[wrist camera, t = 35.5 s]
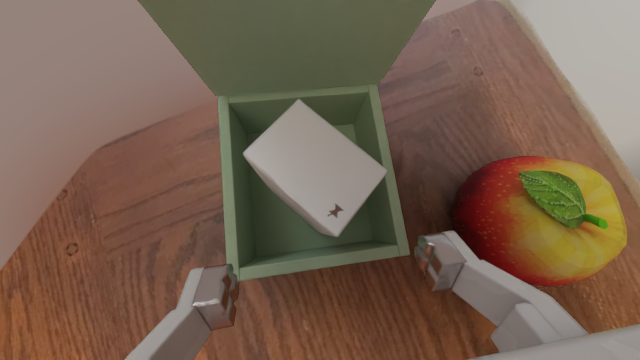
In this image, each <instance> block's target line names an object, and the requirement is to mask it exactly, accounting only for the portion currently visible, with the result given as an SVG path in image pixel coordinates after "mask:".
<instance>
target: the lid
mask: <svg viewBox="0 0 640 360" xmlns="http://www.w3.org/2000/svg"><path fill="white" fill-rule="evenodd" d="M138 1H139V2H140V4H142V6H143V7H144V8H145V10H146V11H147V12H148V13H149V15H150V16H151V17H152V18H153V20H154V21H155V22H156V23H157V24H158V26H159V27H160V28H161V29H162V31H163V32H164V33H165V34H166V35H167V37H168V38H169V39H170V40H171V42H172V43H173V44H174V45H175V47H176V48H177V49H178V50H179V52H180V53H181V54H182V55H183V57H184V58H185V59H186V60H187V61H188V63H189V64H190V65H191V66H192V68H193V69H194V70H195V71H196V72H197V74H198V75H199V76H200V77H201V79H202V80H203V81H204V82H205V83H206V85H207V86H208V87H209V88H210V90H211V91H212V92H213V93H214V95H215V96H222V95H235V94H248V93H261V92H274V91H287V90H300V89H313V88H326V87H339V86H352V85H365V84H378V83H380V81H381V80H382V78H383V77H384V76H385V74H386V73H387V71H388V70H389V68H390V67H391V65H392V64H393V62H394V61H395V59H396V58H397V57H398V55H399V54H400V52H401V51H402V49H403V48H404V46H405V45H406V43H407V42H408V40H409V39H410V38H411V36H412V35H413V33H414V32H415V30H416V29H417V27H418V26H419V24H420V23H421V21H422V20H423V19H424V17H425V16H426V14H427V13H428V11H429V10H430V8H431V7H432V5H433V4H434V2H435V1H436V0H138Z"/></svg>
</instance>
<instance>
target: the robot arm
mask: <svg viewBox="0 0 640 360" xmlns="http://www.w3.org/2000/svg"><path fill="white" fill-rule="evenodd" d="M417 242H418V245H417V246H416V247H415V250H414V258H415V261H416V264H417V266H418V267H419V269H420V270H422V271H423V272H425V276H424V278H425V280H426V281H427V283H428V285H429V286H430V288H431V290H432V292H434V291H441V290H448V289H452V291H453V292H454V293H456V294H457V295H458V296H459V297H461V298H462V299H463V300H464V301H466V302H467V303H468V304H469V305H471V306H472V307H473V308H475V309H476V310H477V311H478V312H480V313H481V314H482V315H483V316H485V317H486V318H487V319H488V320H490V321H491V322H492V323H493V324H495V325H496V326H497V328H496V329H495V330H494V331H493V333H492V334H491V340H492V341H493V343H494V344H495V346H496V347H497V349H498V350H499V352H500V353H495V354H491V355H486V356H481V357H476V358H471V359H466V360H640V324H636V325H631V326H626V327H621V328H616V329H612V330H607V331H602V332H597V333H592V334H589V333H588V332H587V331H586V330H585V329H584V328H583V327H582V326H581V325H579V324H578V323H577V322H576V321H575V320H574V319H573V318H572V317H571V316H570V315H569V314H568V313H567V312H566V311H565V310H564V309H563V308H562V307H561V306H560V305H559V304H558V303H557V302H556V301H555V300H554V299H553V298H552V297H551V296H549V295H548V294H546V293H544V292H542V291H540V290H538V289H536V288H535V287H533V286H531V285H529V284H527V283H525V282H523V281H522V280H520V279H518V278H516V277H514V276H512V275H510V274H509V273H507V272H505V271H503V270H501V269H499V268H497V267H496V266H494V265H492V264H490V263H488V262H486V261H484V260H479V259H478V258H477V256H476V255H475V254H474V253H473V252H472V251H471V249H470V248H469V247H468V246H467V245H466V244H465V242H464V241H463V240H462V239H461V238H460V237H459V236H458V234H457V233H456V232H454V231H453V230H452V231H445V232H437V233H431V234H425V235H420V236H419V237H418V239H417ZM233 271H234V267H233V265H232V264H224V265H216V266H208V267H200V268H193V269H192V270H191V271H190V272H189V274H188V277H187V280H186V283H185V285H184V288H183V291H182V293H181V296H180V299H179V302H178V304H177V307H176V310H171V311H170V312H169V314H168V315H167V316H166V317H165V318H164V319H163V320H162V321H161V322H160V323H159V324H158V325H157V326H156V327H155V328H154V329H153V330H152V331H151V332H150V333H149V334H148V335H147V336H146V337H145V339H144V340H143V341H142V342H141V343H140V344H139V345H138V346H137V347H136V348H135V349H134V350H133V351H132V352H131V353H130V354H129V355H128V356H127V357H126V358H125V359H124V360H194V358H195V357H196V355H197V354H198V352H199V351H200V349H201V348H202V346H203V345H204V343H205V342H206V340H207V338H208V337H209V335H210V334H211V332H212V330H217V329H222V328H227V327H232V326H234V322H235V315H236V307H235V305H234V303H235V301H236V300H237V299H238V295H239V281H238V277H237V275H236V274H234V273H233Z"/></svg>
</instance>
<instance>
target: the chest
mask: <svg viewBox="0 0 640 360" xmlns="http://www.w3.org/2000/svg"><path fill="white" fill-rule="evenodd" d="M298 99H300V100H301V101H302V102H303V103H304V104H306V105H307V106H308V107H309V108H311V109H312V110H313V111H314V112H316V113H317V114H318V115H319V116H320V117H322V118H323V119H324V120H325V121H327V122H328V123H329V124H330V125H332V126H333V127H334V128H336V129H337V130H338V131H339V132H341V133H342V134H343V135H344V136H346V137H347V138H348V139H350V140H351V141H352V142H353V143H355V144H356V145H357V146H358V147H359V148H361V149H362V150H363V151H364V152H366V153H367V154H368V155H369V156H371V157H372V158H373V159H374V160H376V161H377V162H378V163H379V164H380V165H382V166H383V167H384V168H385V169H386V170H387V174H386V175H385V176H384V178H383V179H382V180H381V182H380V183H379V184H378V185H377V187H376V188H375V189H374V191H373V192H372V193H371V194H370V196H369V197H368V198H367V200H366V201H365V202H364V204H363V205H362V206H361V207H360V209H359V210H358V211H357V213H356V214H355V215H354V217H353V218H352V219H351V220H350V222H349V223H348V224H347V226H346V227H345V228H344V230H343V231H342V232H341V234H340V235H339V236H338V237H334V236H329V235H325V234H320V233H318V232H317V231H316V230H314V229H313V228H312V227H311V226H310V225H309V224H307V223H306V222H305V221H304V220H303V219H302V218H300V217H299V216H298V215H297V214H296V213H295V212H294V211H292V210H291V209H290V208H289V207H288V206H287V205H286V204H284V203H283V202H282V201H281V200H280V199H279V198H278V197H277V196H276V195H275V194H274V193H273V192H272V191H271V190H270V188H269V187H268V186H267V185H266V183H265V182H264V181H263V180H262V179H261V177H260V176H259V175H258V174H257V172H256V171H255V170H254V169H253V167H252V166H251V165H250V163H249V162H248V161H247V160H246V159H245V157H244V156H243V152H244V151H245V150H246V149H247V148H248V147H249V146H250V145H251V144H252V143H253V142H254V141H255V140H256V139H257V138H258V137H259V136H260V135H261V134H262V133H264V132H265V131H266V130H267V129H268V128H269V127H270V126H271V125H272V124H273V123H274V122H275V121H276V120H277V119H278V118H279V117H280V116H281V115H282V114H283V113H284V112H285V111H286V110H287V109H288V108H290V107H291V106H292V105H293V104H294V103H295V102H296V101H297V100H298ZM218 112H219V131H220V150H221V168H222V187H223V206H224V225H225V243H226V262H227V264H232V265H233V267H234V271H233V273H234V274H236V275H237V277H238V281H242V280H249V279H255V278H262V277H269V276H275V275H282V274H288V273H295V272H301V271H308V270H314V269H321V268H327V267H334V266H341V265H347V264H354V263H360V262H367V261H373V260H380V259H386V258H393V257H399V256H406V255H410V251H409V246H408V241H407V235H406V230H405V225H404V220H403V215H402V210H401V205H400V200H399V195H398V190H397V185H396V179H395V174H394V169H393V164H392V159H391V154H390V149H389V144H388V139H387V134H386V129H385V123H384V118H383V113H382V108H381V103H380V98H379V93H378V88H377V84H365V85H352V86H339V87H326V88H313V89H300V90H287V91H274V92H261V93H248V94H235V95H222V96H218Z"/></svg>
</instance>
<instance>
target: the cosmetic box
mask: <svg viewBox="0 0 640 360" xmlns="http://www.w3.org/2000/svg"><path fill="white" fill-rule="evenodd" d="M243 156H244V157H245V159H246V160H247V161H248V162H249V163H250V165H251V166H252V167H253V169H254V170H255V171H256V172H257V174H258V175H259V176H260V177H261V179H262V180H263V181H264V182H265V183H266V185H267V186H268V187H269V188H270V190H271V191H272V192H273V193H274V194H275V195H276V196H277V197H278V198H279V199H280V200H281V201H282V202H283V203H284V204H286V205H287V206H288V207H289V208H290V209H291V210H292V211H294V212H295V213H296V214H297V215H298V216H299V217H300V218H302V219H303V220H304V221H305V222H306V223H307V224H309V225H310V226H311V227H312V228H313V229H314V230H316V231H317V232H318V233H320V234H325V235H329V236H334V237H338V236H339V235H340V234H341V232H342V231H343V230H344V228H345V227H346V226H347V224H348V223H349V222H350V220H351V219H352V218H353V217H354V215H355V214H356V213H357V211H358V210H359V209H360V207H361V206H362V205H363V204H364V202H365V201H366V200H367V198H368V197H369V196H370V194H371V193H372V192H373V191H374V189H375V188H376V187H377V185H378V184H379V183H380V182H381V180H382V179H383V178H384V176H385V175H386V174H387V170H386V169H385V168H384V167H383V166H382V165H380V164H379V163H378V162H377V161H376V160H374V159H373V158H372V157H371V156H369V155H368V154H367V153H366V152H364V151H363V150H362V149H361V148H359V147H358V146H357V145H356V144H355V143H353V142H352V141H351V140H350V139H348V138H347V137H346V136H344V135H343V134H342V133H341V132H339V131H338V130H337V129H336V128H334V127H333V126H332V125H330V124H329V123H328V122H327V121H325V120H324V119H323V118H322V117H320V116H319V115H318V114H317V113H316V112H314V111H313V110H312V109H311V108H309V107H308V106H307V105H306V104H304V103H303V102H302V101H301V100H300V99H298V100H297V101H296V102H295V103H294V104H293V105H292V106H291V107H290V108H288V109H287V110H286V111H285V112H284V113H283V114H282V115H281V116H280V117H279V118H278V119H277V120H276V121H275V122H274V123H273V124H272V125H271V126H270V127H269V128H268V129H267V130H266V131H265V132H264V133H262V134H261V135H260V136H259V137H258V138H257V139H256V140H255V141H254V142H253V143H252V144H251V145H250V146H249V147H248V148H247V149H246V150H245V151H244V152H243Z"/></svg>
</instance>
